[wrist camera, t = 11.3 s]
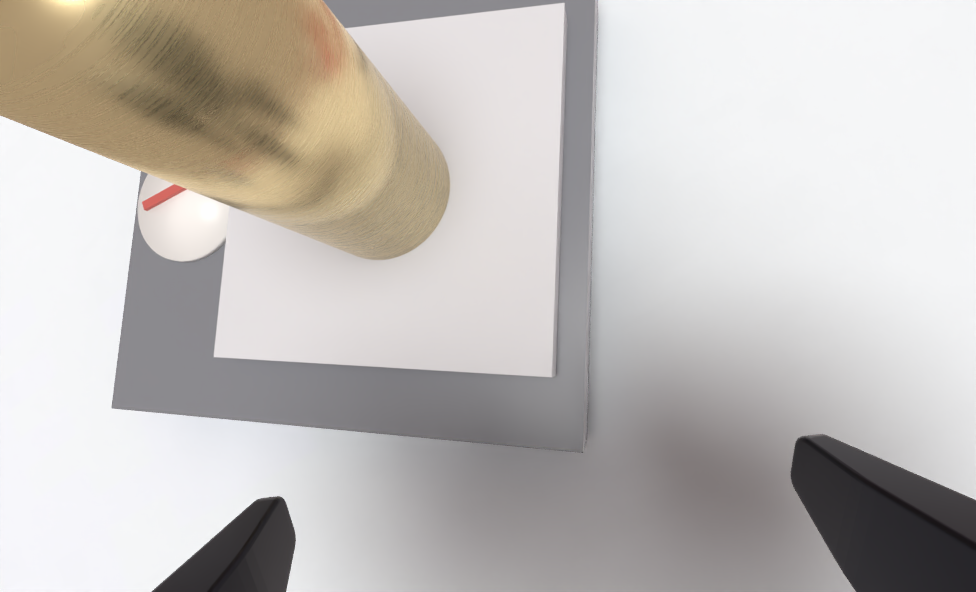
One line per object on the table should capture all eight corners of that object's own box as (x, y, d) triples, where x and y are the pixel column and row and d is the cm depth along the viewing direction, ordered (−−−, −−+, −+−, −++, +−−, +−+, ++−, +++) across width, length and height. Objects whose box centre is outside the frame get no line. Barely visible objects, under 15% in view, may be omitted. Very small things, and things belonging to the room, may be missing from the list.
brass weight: (396, 287, 18) (-105, 127, 5) (293, 212, 19) (-309, -61, 6) (478, 165, 18) (166, -306, 5) (369, 98, 19) (-99, -413, 6)
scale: (586, 438, 20) (581, 460, 16) (170, 401, 24) (83, 411, 20) (597, 12, 22) (595, -67, 18) (209, 54, 26) (136, 0, 22)
